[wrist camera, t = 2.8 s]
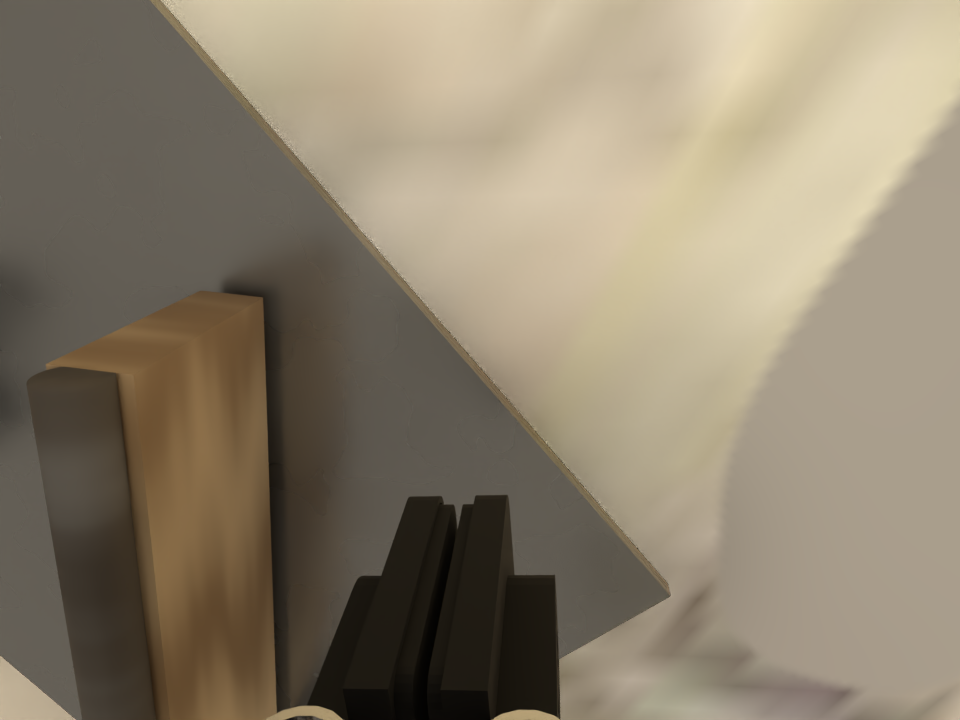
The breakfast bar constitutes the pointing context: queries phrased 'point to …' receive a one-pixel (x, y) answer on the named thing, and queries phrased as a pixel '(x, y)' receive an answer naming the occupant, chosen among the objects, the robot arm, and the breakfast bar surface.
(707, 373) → the breakfast bar surface
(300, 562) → the gate frame
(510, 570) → the robot arm
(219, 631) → the gate
